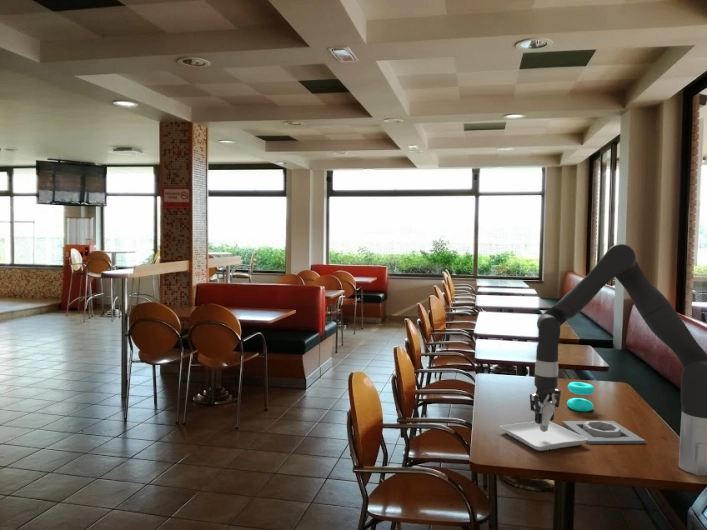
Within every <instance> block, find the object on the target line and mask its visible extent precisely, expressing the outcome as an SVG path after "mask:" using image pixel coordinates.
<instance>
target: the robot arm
mask: <svg viewBox="0 0 707 530" xmlns="http://www.w3.org/2000/svg"><path fill="white" fill-rule="evenodd" d="M602 256H603V257H601V259H600V260H599V261H598V263H597V264H596V265H595V266H594V267H593V269H592V270H590V272H589V273H588V274H587V275H586V276H585V277H584V278H583V279H581V280H580V281H579V282H578V283H576V285H575V286H574V287H572V288H571V289H570V290H569V291H568V292H567V293H566V294H565V295H564V296H563V297H561V299H559V301H558V302H557V303H555V304H554V305H553V306H552V307H550V308H549V309H547V310H546V311H545V312H543V313H542V314H541V315H540V316H539V317H538V319H537V322H536V326H537V329H538V343H537V345H536V354H535V355H536V356H535V365H534V386H535V388H536V391H535V393H530V394H529V403H530V406H529V407H530V411H532V412H534V421H535V423H537V424H542V411H543V408H544V407H545V406H546V403H547V402H551V403H552V405H553V406H554V411H555V410H556V409H557V408H559V406H560V400H561V394H562V393H561V392H562V391H561V390H559V389H558V388H559V387H558V386H559V385H558V384H559V345H560V344H559V343H560V338H561V326H562V325H563V324H565V323H566V321H568V320H571V319H572V318H574V317H576V315H577V314H579V313H580V312H581V311H582V310H583V309H585V307H586V306H587V305H589V304H590V302H591V301H592V300H593V299H594V298H595V296H597V294H598V293H599V292H600V291H601V290H602V289H603V288H604V287H605V286H606V285H607V284H608V283H610V282H611V280H613V279H615V278H616V279H617V281H618V282H619V283H620V284H621V285H622V287H623V288H624V289H625V291H626V292H627V293H628V295H629V298H630V299H631V302H632V303H633V305H634V306H635V308H636V311H638V313H639V315H640V316H641V318H642V319H643V321H644V323H645V324H646V325H647V327H648V328H649V329H650V330H651V332H652V333H653V334H654V335H655V336H656V337H657V338H658V339H659V340H660V341H661V342H662V343H664V344H665V345H666V346H667V347H668V348H669V349H670V350H671V351H672V352H673V353H674V354H675V355H676V357H677V358H678V360H679V362H680V363H681V365H682V367H683V369H682V371H681V376H680V377H681V378H680V404H681V413H680V414H681V415H680V416H681V418H680V432H679V448H678V449H679V451H678V453H679V454H678V467H679V469H681V470H683V471H684V472H687V473H690V474H693V475H695V476H707V352H706V351H705V350H704V349H703V348H702V347H701V345H700V344H699V343H698V342H697V340H696V339H695V338H694V336H693V335H692V333H691V331H690V330H689V328H688V327H687V325H686V324H685V322H684V321H683V320H682V318H681V316H680V314H679V313H678V312H677V311H676V309H675V308H674V307H673V305H672V304H671V302H670V301H669V300H668V299H667V298H666V297H665V295H664V294H663V293H662V292H661V291H660V290H659V289H658V288H657V287H655V285H653V283H651V281H649V279H648V278H647V276H646V275H645V274H644V272H643V270H642V268H641V267H640V265H639V263H638V261H637V258H636V253H635V250H634V249H633V248H632V247H631V246H629V245H627V244H624V243H619V244H618V243H617V244H614V245H612V246H610V247H609V248H608V249H607V251H606V252H605V253H604V255H602ZM539 402H541V403H542V404H540V403H539ZM539 406H540V409H539ZM554 418H555V412H554V413H553V415H552V417H551V418H550V422H552V421H554Z"/></svg>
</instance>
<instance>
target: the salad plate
mask: <svg viewBox="0 0 707 530" xmlns="http://www.w3.org/2000/svg"><path fill="white" fill-rule="evenodd" d="M499 428H500V429H501V431H502V432H504V433H506V435H508V436H510V437H511V438H514V439H516V440H517V441H519V442H521V443H522V444H525V445H526V446H529V448H532V449H534V450H536V451H539V452H541V451H549V449H550V450H557V449H562V448H568V447H575V446H580V445H583V444H585V443H587V442H586V441H588V439H587V438H585V437H583V436H581V435H579V434H577V433H575V432H573V431H571V430H570V429H568V428H567V427H566V428H565V426H561V425H559V424H557V423H555V422H552V421H549V425H548V430H547V431H546V432H542V431H541V430H540V424H537V423H535V420H534V421H525V422H517V423H510V424H503V425H500V426H499Z"/></svg>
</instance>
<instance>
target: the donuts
mask: <svg viewBox="0 0 707 530" xmlns="http://www.w3.org/2000/svg"><path fill="white" fill-rule="evenodd" d="M567 389H568V390H569V392H571V393H573V394H575V395H581V396H588V395H591V394H593V393H594V392H595V387H594V386H593V384H591V383H586V382H582V381H570V382H569V383H568V385H567ZM566 405H567V407H568V408H569V409H570V410H572V411H577V412H590V411H592V410H593V409H594V404H593V403H592V401H590V400H589V399H586V398H582V397H573V398H569V399H568V400H567V402H566Z"/></svg>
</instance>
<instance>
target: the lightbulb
mask: <svg viewBox="0 0 707 530" xmlns="http://www.w3.org/2000/svg"><path fill="white" fill-rule="evenodd" d="M539 403H540V404H542V403H541V402H539ZM539 409H540V406H539ZM553 413H554V414H555V410H554V406H553V405H552V403H551V402H547V403H546V406H545V407H544V408H543V411H542V424H540V430H541V431H542V432H546V431H547V430H548V425H549V421H550V418H551V417H552V415H553ZM550 422H551V421H550Z"/></svg>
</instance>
